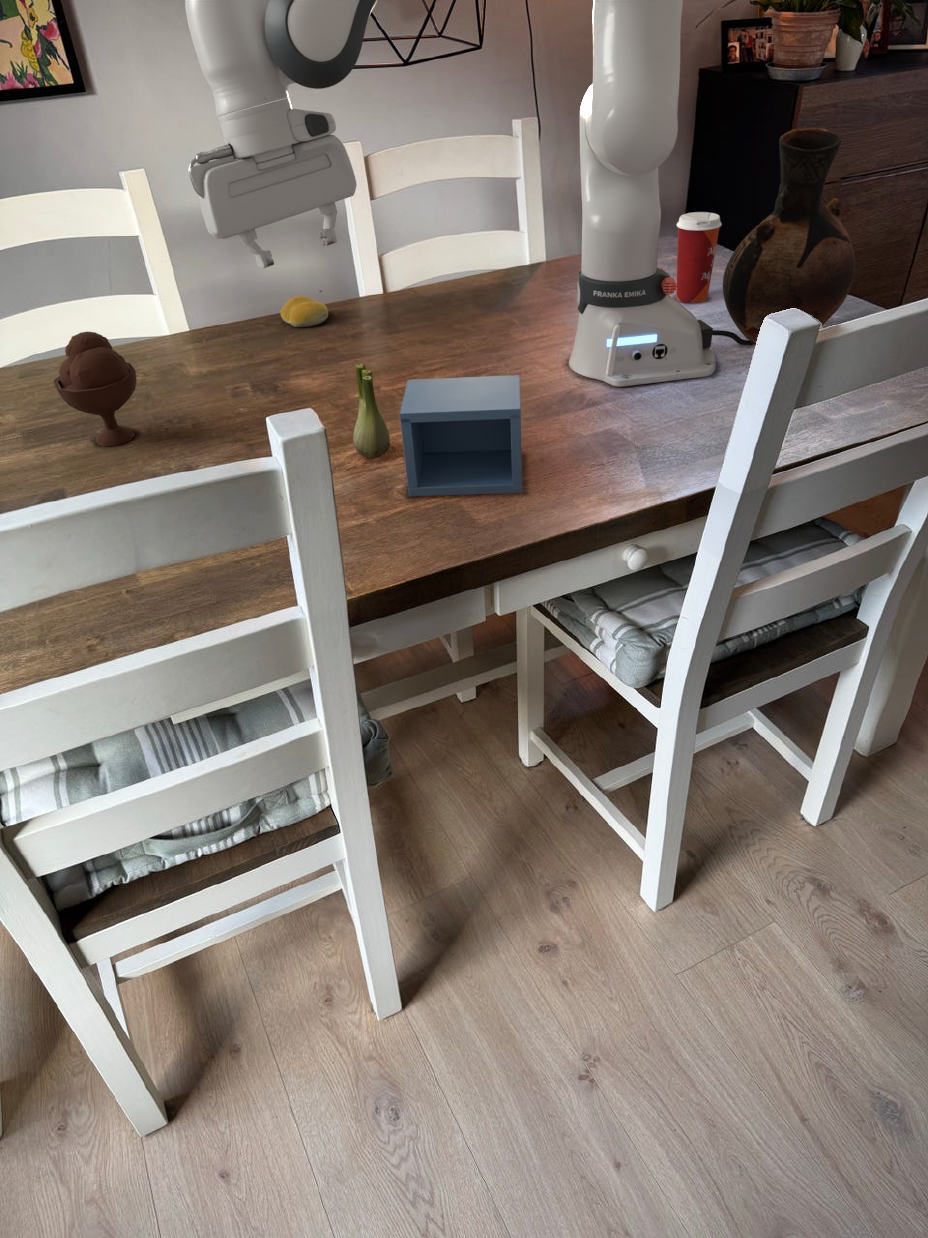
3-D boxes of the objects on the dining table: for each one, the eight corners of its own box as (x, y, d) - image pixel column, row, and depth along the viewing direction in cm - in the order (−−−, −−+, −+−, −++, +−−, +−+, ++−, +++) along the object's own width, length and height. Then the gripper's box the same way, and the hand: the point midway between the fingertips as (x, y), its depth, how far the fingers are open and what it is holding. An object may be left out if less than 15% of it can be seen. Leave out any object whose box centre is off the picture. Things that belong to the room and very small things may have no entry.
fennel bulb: (385, 464, 113) (374, 376, 106) (350, 463, 114) (336, 376, 106) (395, 444, 117) (385, 359, 110) (361, 443, 118) (348, 359, 111)
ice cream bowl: (62, 442, 124) (23, 340, 115) (131, 415, 131) (99, 316, 121) (98, 462, 118) (60, 357, 109) (168, 433, 125) (137, 331, 115)
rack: (521, 455, 113) (519, 374, 106) (522, 493, 105) (520, 408, 98) (416, 458, 114) (407, 379, 107) (409, 496, 106) (399, 413, 99)
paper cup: (717, 303, 154) (727, 220, 146) (674, 306, 155) (681, 223, 146) (708, 290, 160) (717, 209, 152) (666, 292, 161) (673, 212, 152)
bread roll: (301, 331, 156) (297, 309, 154) (276, 320, 162) (271, 299, 159) (338, 319, 160) (335, 297, 158) (312, 309, 166) (309, 288, 163)
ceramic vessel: (790, 312, 148) (824, 114, 130) (868, 342, 136) (918, 127, 117) (691, 337, 142) (712, 132, 123) (763, 371, 129) (799, 148, 111)
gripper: (192, 155, 96) (237, 281, 103) (344, 111, 104) (375, 231, 112) (173, 159, 101) (217, 279, 108) (320, 117, 109) (351, 231, 116)
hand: (299, 255), depth 110 cm, fingers open, 8 cm apart
